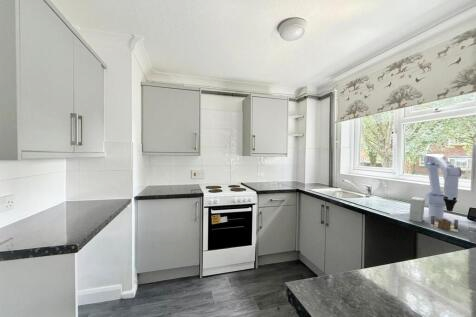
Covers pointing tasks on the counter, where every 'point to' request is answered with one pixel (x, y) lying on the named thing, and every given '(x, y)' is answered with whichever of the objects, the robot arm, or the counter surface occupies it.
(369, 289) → the counter surface
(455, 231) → the board
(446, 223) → the brown small block
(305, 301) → the counter surface
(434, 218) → the wire gate
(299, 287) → the counter surface
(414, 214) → the skincare box
